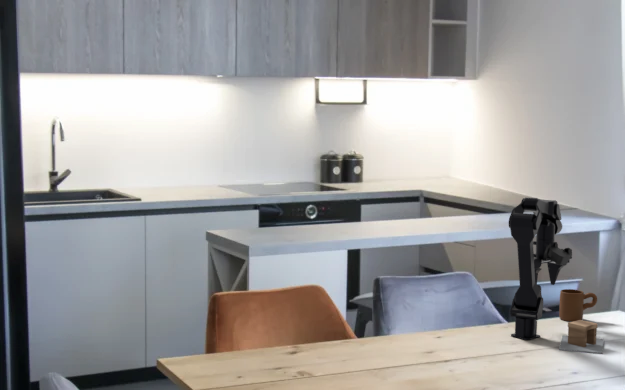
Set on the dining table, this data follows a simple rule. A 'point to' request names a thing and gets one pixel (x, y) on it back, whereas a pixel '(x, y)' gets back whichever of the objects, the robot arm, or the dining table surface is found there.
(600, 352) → the mat
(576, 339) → the stool
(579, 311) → the mug
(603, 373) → the dining table surface
